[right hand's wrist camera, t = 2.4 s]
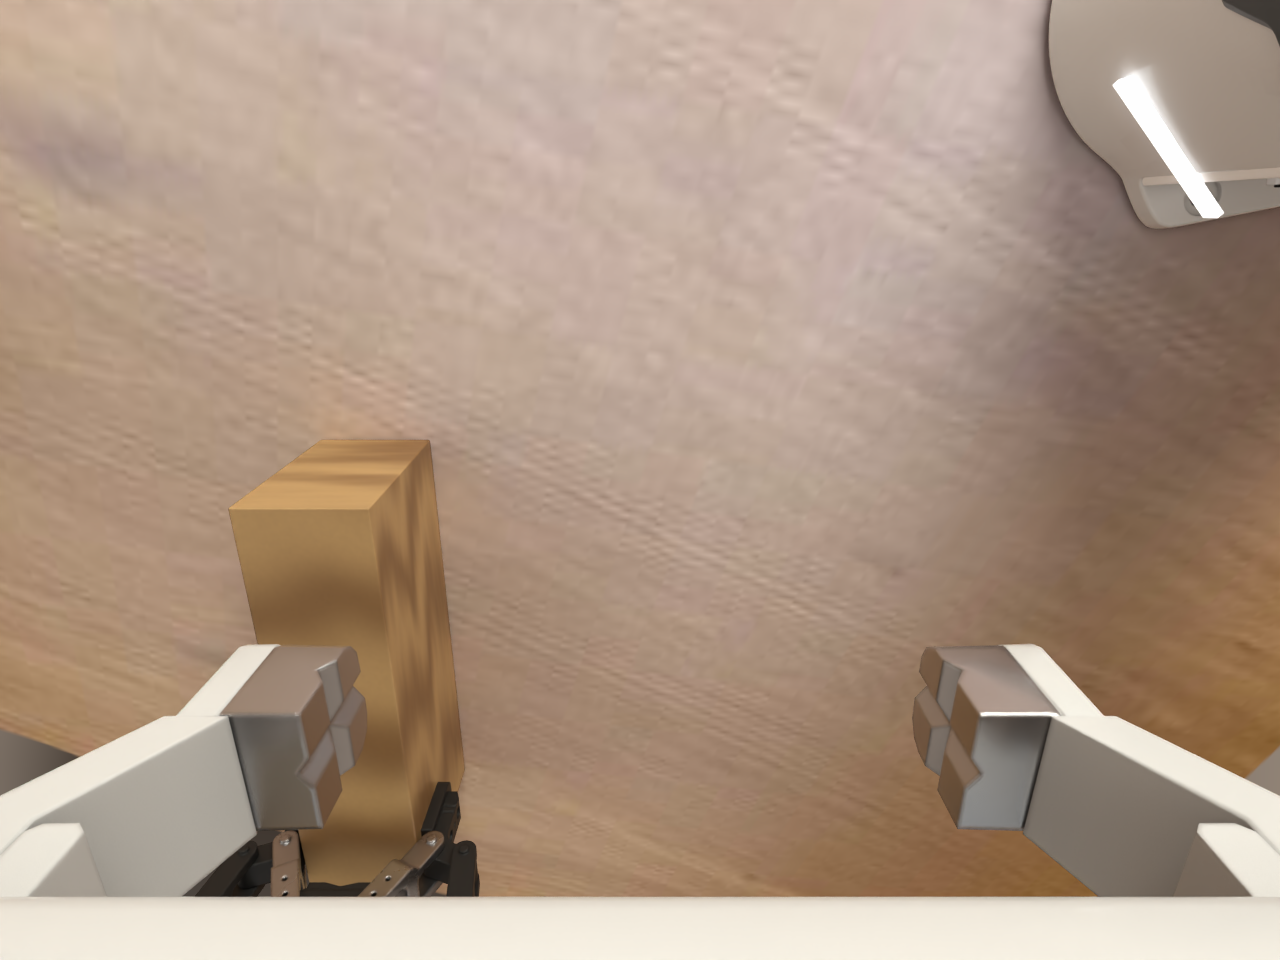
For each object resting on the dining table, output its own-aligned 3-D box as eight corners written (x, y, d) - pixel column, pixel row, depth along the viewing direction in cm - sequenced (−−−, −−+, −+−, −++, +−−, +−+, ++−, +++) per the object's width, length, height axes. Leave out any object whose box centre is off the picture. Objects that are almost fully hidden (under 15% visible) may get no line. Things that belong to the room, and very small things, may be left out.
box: (320, 439, 39) (227, 508, 30) (429, 439, 39) (369, 508, 30) (374, 769, 47) (312, 900, 38) (464, 769, 47) (424, 900, 38)
